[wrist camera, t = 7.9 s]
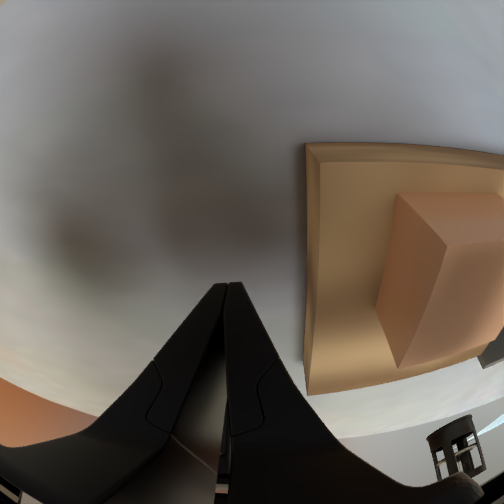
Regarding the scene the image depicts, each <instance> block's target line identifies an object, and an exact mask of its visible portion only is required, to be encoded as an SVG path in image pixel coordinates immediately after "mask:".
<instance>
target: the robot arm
mask: <svg viewBox="0 0 504 504" xmlns="http://www.w3.org/2000/svg"><path fill="white" fill-rule="evenodd" d="M153 360H154V361H151V362H150V363H149V364H148V366H147V367H146V368H145V369H144V371H143V372H142V373H141V374H140V375H139V376H138V378H137V379H136V380H135V381H134V382H133V383H132V384H131V385H130V386H129V387H128V389H127V390H126V391H125V392H124V393H123V394H122V395H121V396H120V397H119V398H118V399H117V400H116V401H115V402H114V403H113V404H112V405H111V406H110V407H109V408H108V409H107V410H106V411H105V412H104V413H103V414H102V415H101V416H100V417H99V418H98V419H97V420H96V421H94V422H93V423H92V424H91V425H90V426H88V427H87V428H85V429H84V430H82V431H80V432H78V433H75V434H72V435H69V436H65V437H61V438H57V439H54V440H50V441H46V442H41V443H37V444H33V445H28V446H23V447H16V448H15V447H14V448H13V447H6V446H3V445H1V444H0V504H504V471H502V472H501V473H499V474H498V475H496V476H495V477H493V478H491V479H490V480H488V481H487V482H485V483H483V484H482V485H480V486H479V485H478V484H477V483H476V482H475V481H474V480H473V479H472V478H470V477H469V476H468V475H467V474H465V473H464V472H463V471H460V472H457V473H455V474H453V475H451V476H448V477H446V478H444V479H442V480H439V481H437V482H435V483H432V484H430V485H427V486H423V487H411V486H406V485H403V484H401V483H399V482H397V481H395V480H394V479H392V478H390V477H389V476H387V475H385V474H384V473H382V472H381V471H379V470H378V469H376V468H375V467H373V466H371V465H370V464H369V463H367V462H365V461H364V460H362V459H361V458H360V457H358V456H357V455H355V454H354V453H352V452H351V451H349V450H348V449H347V448H346V447H344V446H343V445H342V444H341V443H340V442H339V441H338V440H337V439H336V438H335V436H334V435H333V434H332V433H331V432H330V431H329V429H328V428H327V427H326V426H325V424H324V423H323V422H322V420H321V419H320V418H319V417H318V415H317V414H316V413H315V411H314V410H313V409H312V407H311V406H310V405H309V404H308V402H307V401H306V400H305V398H304V397H303V395H302V394H301V393H300V391H299V390H298V388H297V387H296V385H295V384H294V382H293V380H292V379H291V377H290V375H289V374H288V372H287V370H286V368H285V366H284V364H283V362H282V361H281V359H280V357H279V355H278V353H277V351H276V349H275V347H274V345H273V343H272V341H271V339H270V337H269V335H268V333H267V331H266V329H265V328H264V326H263V324H262V322H261V320H260V318H259V316H258V314H257V312H256V310H255V308H254V306H253V304H252V302H251V300H250V298H249V296H248V293H247V291H246V289H245V287H244V285H243V283H242V282H230V283H229V284H227V283H215V284H214V285H213V286H212V287H211V288H210V289H209V291H208V292H207V293H206V294H205V296H204V297H203V298H202V299H201V300H200V302H199V303H198V304H197V305H196V307H195V308H194V309H193V310H192V311H191V313H190V314H189V315H188V316H187V318H186V319H185V320H184V321H183V323H182V324H181V325H180V326H179V327H178V329H177V330H176V331H175V332H174V334H173V335H172V336H171V337H170V339H169V340H168V341H167V342H166V343H165V345H164V346H163V347H162V348H161V350H160V351H159V352H158V353H157V355H156V356H155V357H154V358H153ZM226 400H227V401H228V403H226ZM215 489H219V490H228V494H226V493H215Z"/></svg>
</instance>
